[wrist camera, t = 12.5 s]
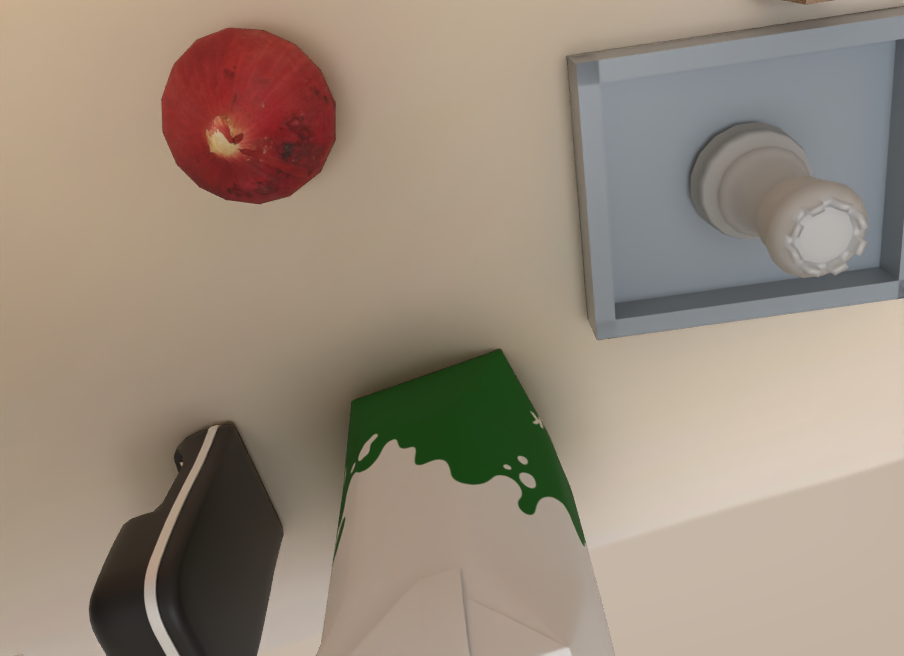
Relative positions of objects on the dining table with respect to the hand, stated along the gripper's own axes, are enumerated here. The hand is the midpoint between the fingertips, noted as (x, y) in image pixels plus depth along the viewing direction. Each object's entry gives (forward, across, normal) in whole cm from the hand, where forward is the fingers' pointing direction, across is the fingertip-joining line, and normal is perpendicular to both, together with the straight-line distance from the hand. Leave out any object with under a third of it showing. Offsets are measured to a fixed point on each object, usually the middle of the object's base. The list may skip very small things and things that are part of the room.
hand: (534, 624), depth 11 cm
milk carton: (+25, +2, +12) cm, 28 cm away
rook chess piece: (+24, -12, +3) cm, 27 cm away
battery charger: (+26, +13, +12) cm, 32 cm away
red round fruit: (+26, +6, -4) cm, 27 cm away
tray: (+25, -12, +3) cm, 28 cm away
